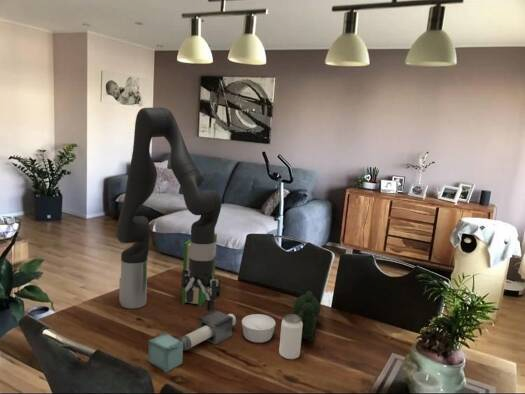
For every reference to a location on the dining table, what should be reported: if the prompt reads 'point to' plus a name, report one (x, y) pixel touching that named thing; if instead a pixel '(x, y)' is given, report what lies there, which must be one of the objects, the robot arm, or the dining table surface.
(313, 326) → the dark green lumpy piece
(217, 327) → the sleeve
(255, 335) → the ramekin
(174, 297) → the dining table surface
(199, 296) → the hardback book
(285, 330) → the can
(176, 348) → the socket
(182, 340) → the tube
